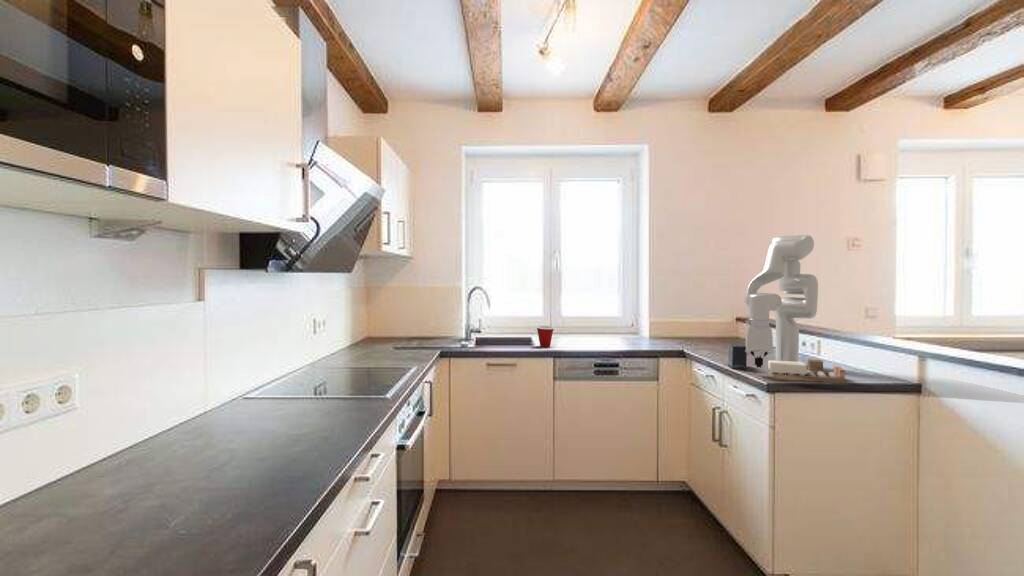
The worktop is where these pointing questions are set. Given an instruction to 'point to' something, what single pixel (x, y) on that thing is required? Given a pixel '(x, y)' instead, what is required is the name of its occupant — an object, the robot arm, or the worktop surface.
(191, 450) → the worktop surface
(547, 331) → the plastic cup
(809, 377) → the roller bed
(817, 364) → the walnut block
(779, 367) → the slab
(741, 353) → the small box
